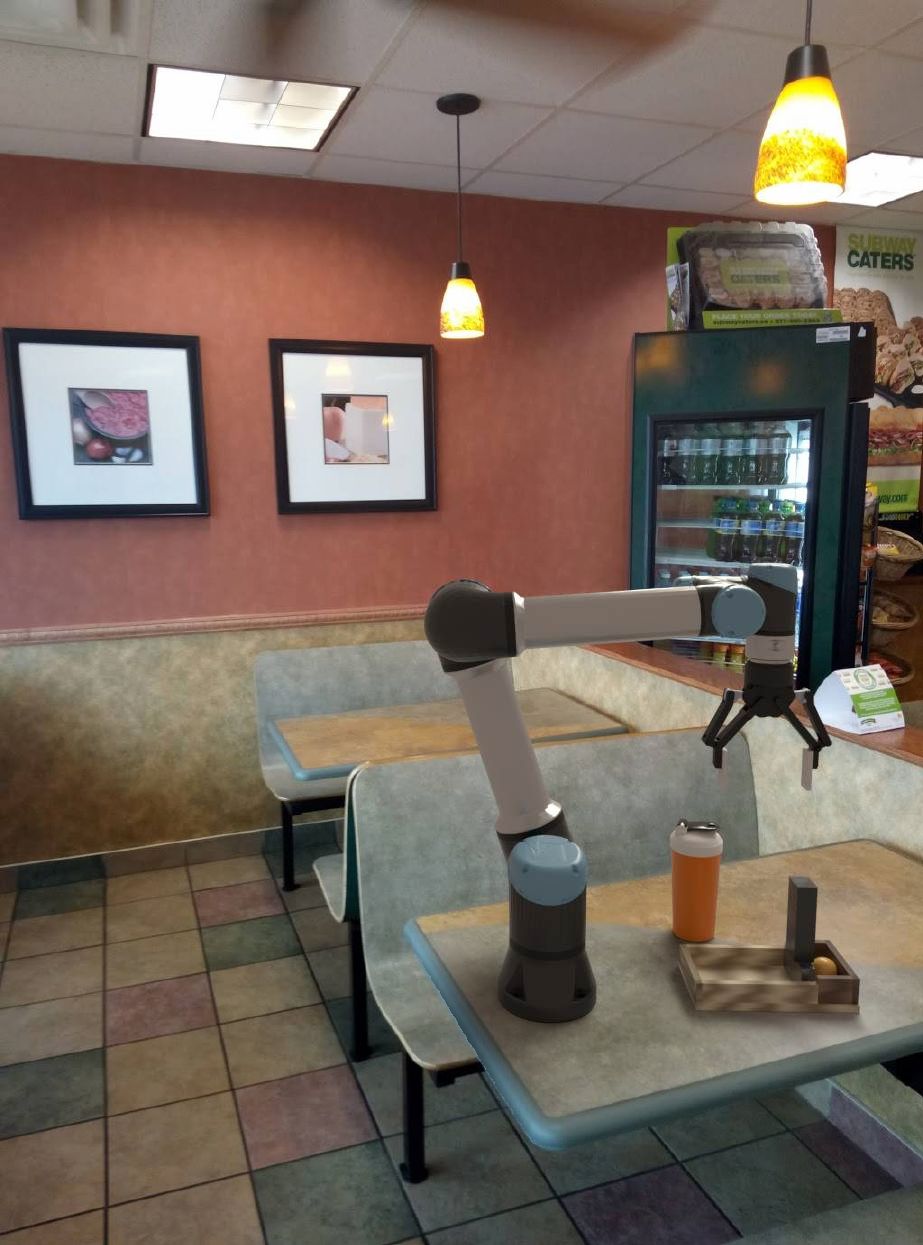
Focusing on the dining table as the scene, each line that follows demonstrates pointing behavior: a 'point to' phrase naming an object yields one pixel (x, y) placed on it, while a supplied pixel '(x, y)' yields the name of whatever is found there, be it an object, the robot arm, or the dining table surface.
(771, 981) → the tray
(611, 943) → the dining table surface
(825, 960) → the ball
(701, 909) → the shaker bottle
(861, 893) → the dining table surface
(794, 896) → the block
